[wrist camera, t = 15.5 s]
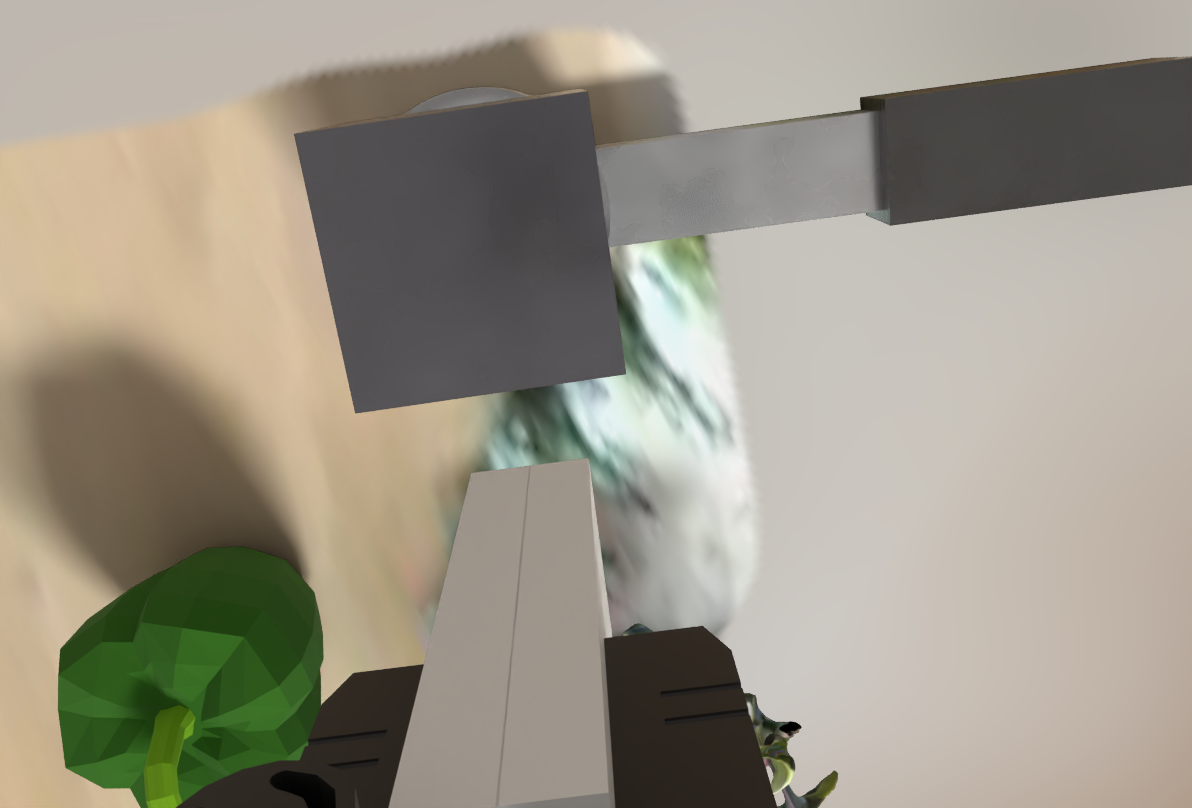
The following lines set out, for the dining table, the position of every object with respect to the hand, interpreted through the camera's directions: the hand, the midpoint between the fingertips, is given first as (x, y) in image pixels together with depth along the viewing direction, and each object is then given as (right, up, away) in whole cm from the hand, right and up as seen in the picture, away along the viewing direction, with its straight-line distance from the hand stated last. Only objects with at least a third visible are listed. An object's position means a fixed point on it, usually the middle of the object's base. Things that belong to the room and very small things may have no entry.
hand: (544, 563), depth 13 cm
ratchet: (+7, +10, +23) cm, 26 cm away
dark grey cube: (-3, +8, +20) cm, 22 cm away
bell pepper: (-13, -6, +27) cm, 31 cm away
